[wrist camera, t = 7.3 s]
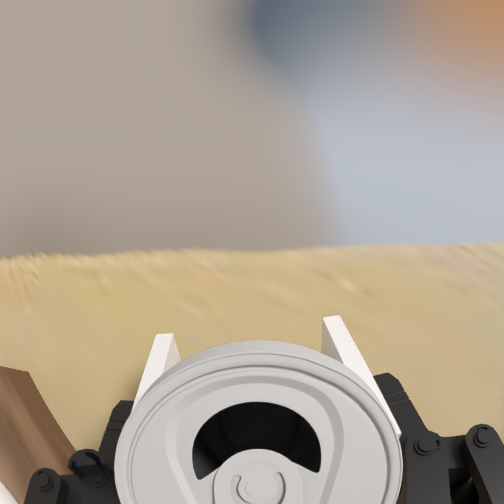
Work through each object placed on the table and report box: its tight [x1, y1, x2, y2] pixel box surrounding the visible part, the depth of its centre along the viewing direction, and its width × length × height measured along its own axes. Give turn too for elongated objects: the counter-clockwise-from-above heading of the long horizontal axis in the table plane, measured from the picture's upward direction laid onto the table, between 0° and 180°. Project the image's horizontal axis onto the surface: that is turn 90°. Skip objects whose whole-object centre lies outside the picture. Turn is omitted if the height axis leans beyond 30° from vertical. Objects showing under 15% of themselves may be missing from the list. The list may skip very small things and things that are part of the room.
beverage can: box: [114, 340, 403, 504], centre depth 9 cm, size 6×6×12 cm
